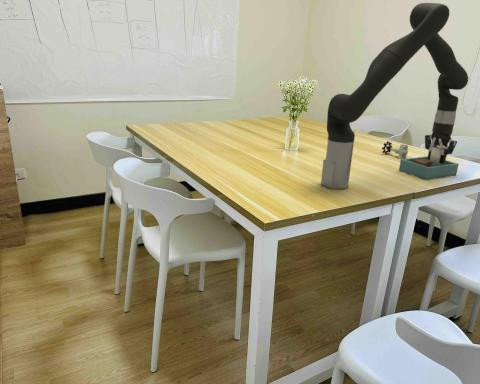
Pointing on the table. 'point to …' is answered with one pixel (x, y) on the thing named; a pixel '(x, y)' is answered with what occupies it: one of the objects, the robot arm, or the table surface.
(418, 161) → the walnut cube
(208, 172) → the table surface
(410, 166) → the tote
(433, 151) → the ceramic capsule
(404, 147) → the valve
